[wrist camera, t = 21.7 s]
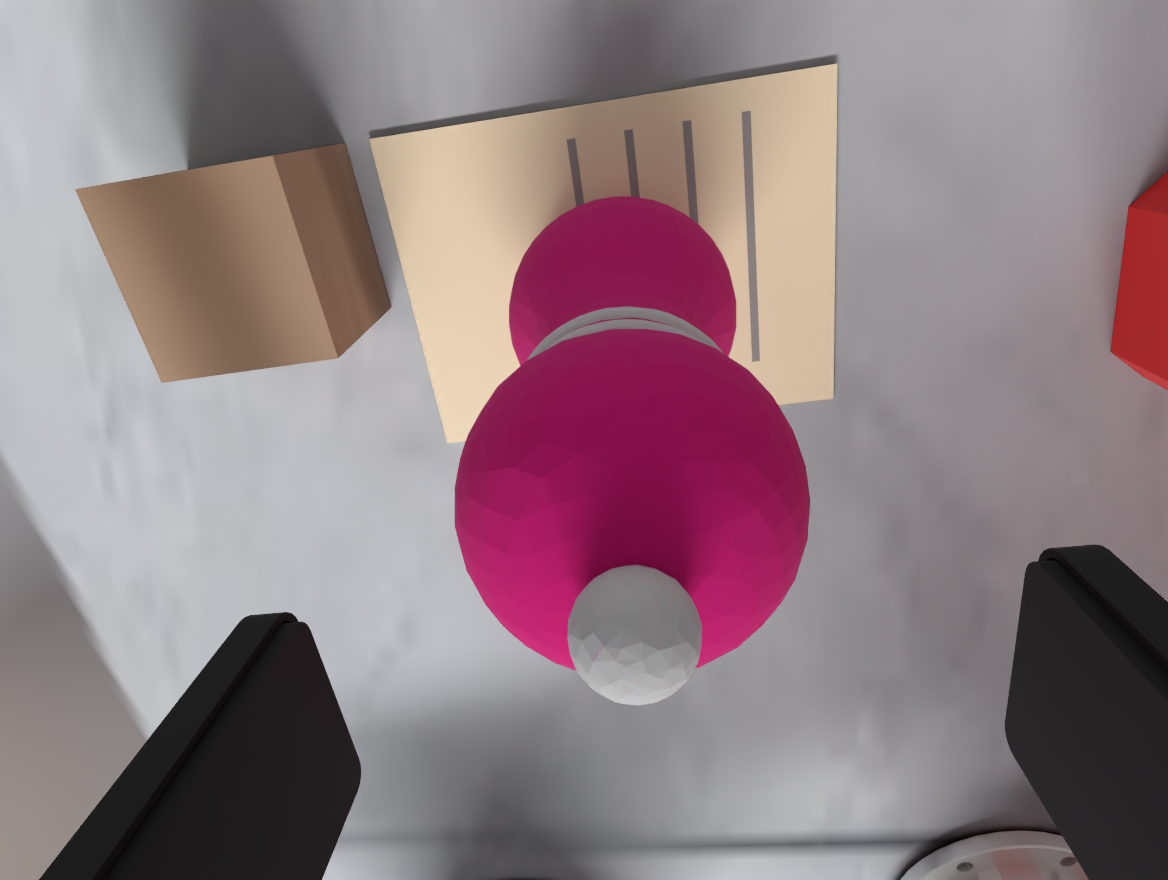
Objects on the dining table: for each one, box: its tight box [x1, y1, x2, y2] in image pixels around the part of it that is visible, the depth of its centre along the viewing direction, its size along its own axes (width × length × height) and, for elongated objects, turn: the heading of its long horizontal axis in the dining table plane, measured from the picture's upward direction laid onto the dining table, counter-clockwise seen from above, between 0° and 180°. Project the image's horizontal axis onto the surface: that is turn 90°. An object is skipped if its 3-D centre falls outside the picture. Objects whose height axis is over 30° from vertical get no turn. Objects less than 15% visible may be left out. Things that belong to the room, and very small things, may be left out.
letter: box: [369, 64, 837, 443], centre depth 26 cm, size 16×12×1 cm
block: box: [75, 143, 391, 383], centre depth 24 cm, size 6×6×6 cm
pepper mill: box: [455, 196, 810, 705], centre depth 17 cm, size 7×7×20 cm
